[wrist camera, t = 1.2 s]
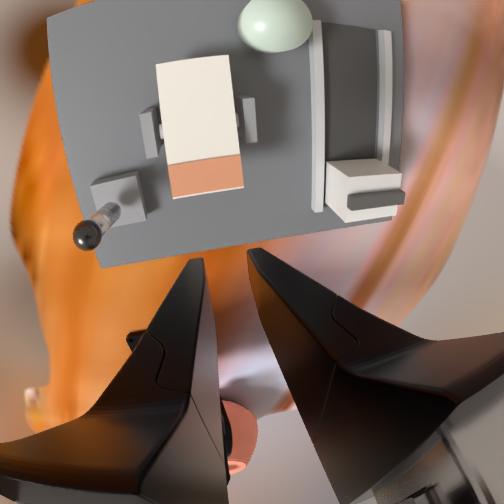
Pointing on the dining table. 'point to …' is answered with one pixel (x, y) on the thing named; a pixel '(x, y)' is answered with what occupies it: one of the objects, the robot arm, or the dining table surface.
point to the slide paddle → (362, 189)
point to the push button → (274, 25)
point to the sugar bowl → (241, 435)
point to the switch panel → (246, 106)
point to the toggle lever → (96, 226)
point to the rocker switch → (199, 126)
